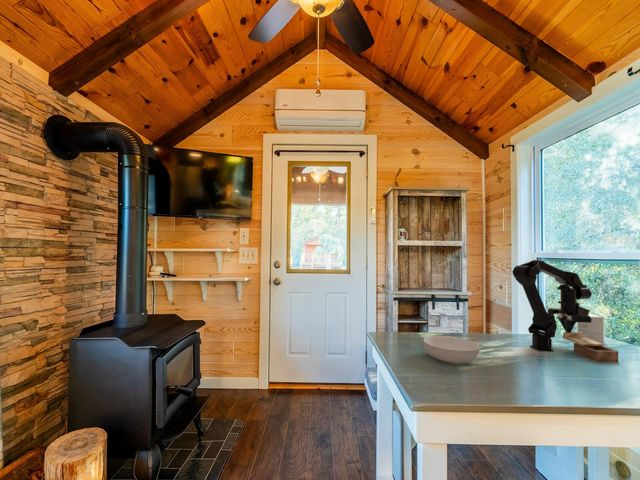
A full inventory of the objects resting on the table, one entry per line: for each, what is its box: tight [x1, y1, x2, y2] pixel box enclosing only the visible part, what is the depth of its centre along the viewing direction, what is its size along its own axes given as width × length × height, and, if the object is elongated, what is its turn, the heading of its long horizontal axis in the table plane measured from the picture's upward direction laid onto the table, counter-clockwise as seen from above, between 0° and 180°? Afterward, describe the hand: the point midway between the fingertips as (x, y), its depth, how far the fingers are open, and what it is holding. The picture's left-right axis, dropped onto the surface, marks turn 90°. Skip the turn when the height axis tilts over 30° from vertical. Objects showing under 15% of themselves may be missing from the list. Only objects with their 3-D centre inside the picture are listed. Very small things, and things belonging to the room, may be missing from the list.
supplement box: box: [577, 313, 605, 344], centre depth 158 cm, size 7×7×13 cm
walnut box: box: [573, 342, 619, 363], centre depth 133 cm, size 9×11×4 cm
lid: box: [561, 332, 605, 347], centre depth 140 cm, size 9×11×2 cm
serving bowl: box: [422, 335, 481, 364], centre depth 128 cm, size 21×21×7 cm
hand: (568, 333), depth 147 cm, fingers closed
